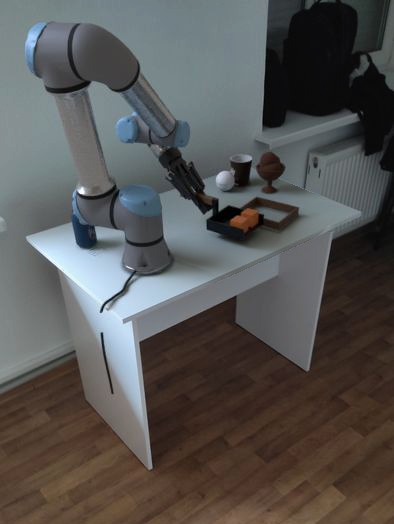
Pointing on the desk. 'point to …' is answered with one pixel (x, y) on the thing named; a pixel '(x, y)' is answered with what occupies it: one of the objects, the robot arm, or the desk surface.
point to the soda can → (83, 233)
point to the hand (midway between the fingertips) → (208, 210)
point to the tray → (277, 206)
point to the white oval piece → (225, 180)
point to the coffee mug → (241, 169)
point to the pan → (227, 219)
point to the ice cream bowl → (270, 170)
